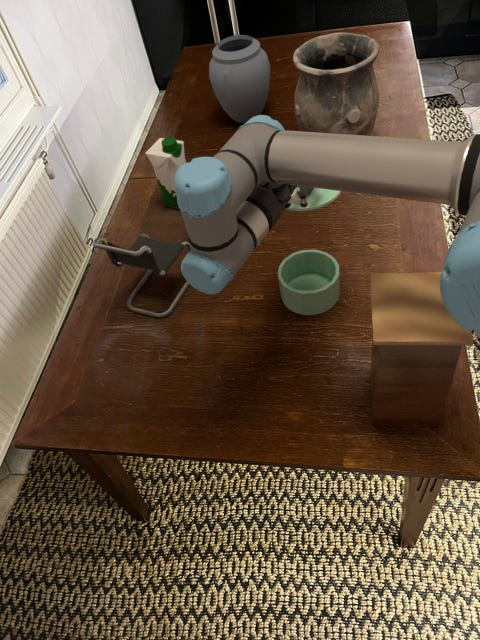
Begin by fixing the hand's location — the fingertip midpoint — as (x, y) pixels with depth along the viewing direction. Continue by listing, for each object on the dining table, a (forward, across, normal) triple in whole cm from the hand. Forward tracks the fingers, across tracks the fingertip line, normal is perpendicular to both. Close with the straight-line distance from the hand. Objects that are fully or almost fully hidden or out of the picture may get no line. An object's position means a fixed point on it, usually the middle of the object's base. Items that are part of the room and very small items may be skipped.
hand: (315, 139), depth 97 cm
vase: (+57, -57, -37) cm, 89 cm away
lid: (-5, 0, -6) cm, 8 cm away
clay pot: (+49, -20, -38) cm, 65 cm away
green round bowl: (-5, -1, -38) cm, 38 cm away
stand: (-22, +28, -38) cm, 52 cm away
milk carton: (+12, -52, -38) cm, 65 cm away
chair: (-19, -35, -38) cm, 55 cm away
